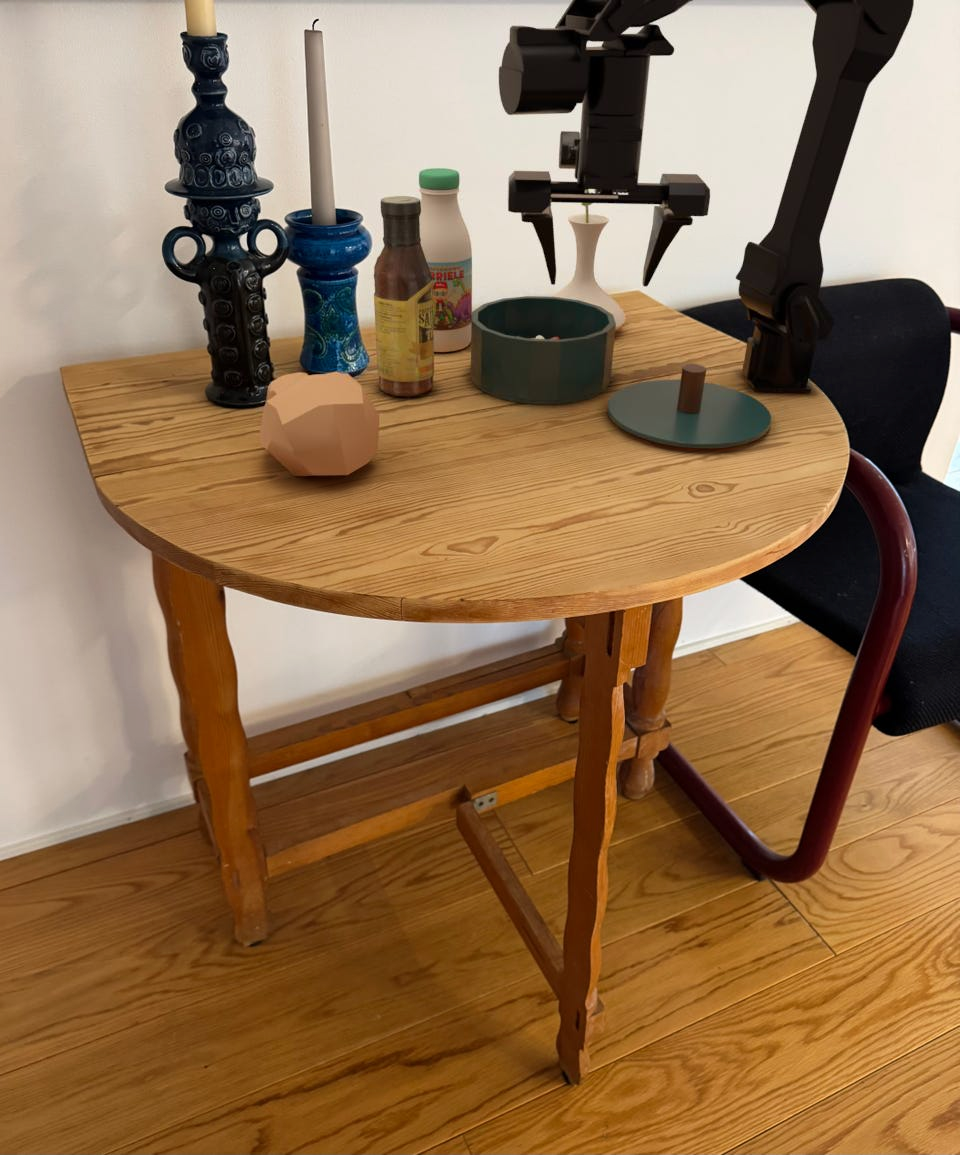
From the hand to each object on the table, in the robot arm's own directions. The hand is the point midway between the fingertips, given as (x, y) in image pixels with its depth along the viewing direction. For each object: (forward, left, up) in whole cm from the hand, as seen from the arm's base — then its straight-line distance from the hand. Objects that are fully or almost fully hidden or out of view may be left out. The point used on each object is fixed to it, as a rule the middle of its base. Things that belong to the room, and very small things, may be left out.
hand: (598, 284), depth 95 cm
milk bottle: (+17, -19, -13) cm, 29 cm away
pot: (+5, -8, -13) cm, 16 cm away
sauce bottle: (+20, -4, -13) cm, 24 cm away
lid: (-10, +3, -12) cm, 16 cm away
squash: (+28, +12, -13) cm, 33 cm away
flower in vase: (-1, -26, -13) cm, 29 cm away
